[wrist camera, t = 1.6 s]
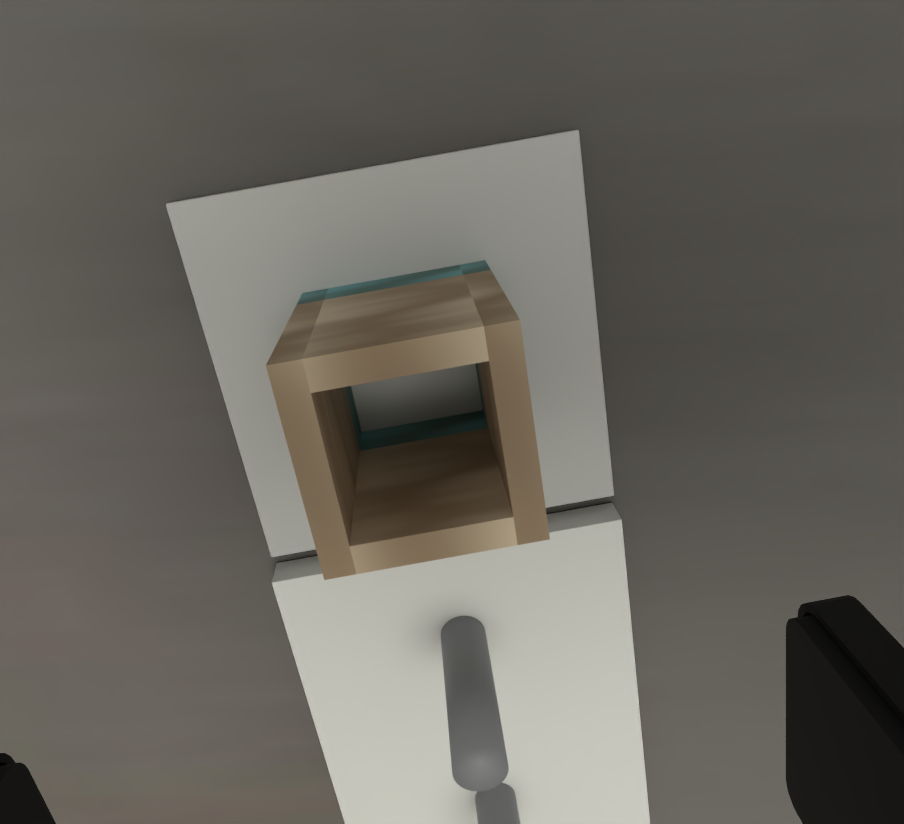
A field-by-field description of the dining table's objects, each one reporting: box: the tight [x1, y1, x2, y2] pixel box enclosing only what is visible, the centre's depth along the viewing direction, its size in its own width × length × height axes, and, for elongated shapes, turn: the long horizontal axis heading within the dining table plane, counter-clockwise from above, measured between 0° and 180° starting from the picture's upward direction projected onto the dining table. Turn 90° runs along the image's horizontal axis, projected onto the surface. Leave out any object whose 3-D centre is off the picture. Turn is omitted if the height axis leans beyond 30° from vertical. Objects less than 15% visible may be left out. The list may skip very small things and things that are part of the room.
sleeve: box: [266, 260, 550, 580], centre depth 21 cm, size 6×6×7 cm
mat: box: [166, 130, 614, 557], centre depth 24 cm, size 12×12×1 cm
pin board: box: [272, 503, 650, 824], centre depth 26 cm, size 12×15×7 cm
